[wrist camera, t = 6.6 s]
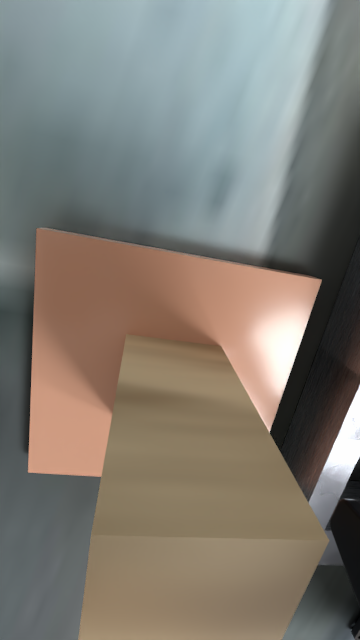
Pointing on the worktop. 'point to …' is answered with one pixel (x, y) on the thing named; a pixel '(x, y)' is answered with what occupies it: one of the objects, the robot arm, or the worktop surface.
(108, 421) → the terracotta tile
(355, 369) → the grey slotted holder
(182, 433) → the maple peg
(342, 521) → the robot arm
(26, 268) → the worktop surface
